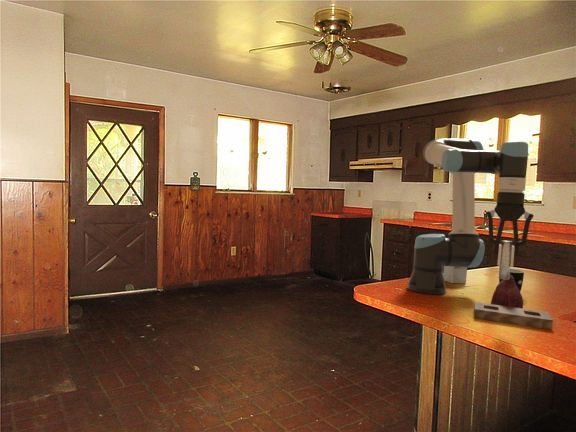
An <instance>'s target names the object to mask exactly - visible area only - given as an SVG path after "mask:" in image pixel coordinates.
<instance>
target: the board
mask: <svg viewBox="0 0 576 432" xmlns="http://www.w3.org/2000/svg"><path fill="white" fill-rule="evenodd" d="M473 307H474V308H473V313H474V314H473V315H474V317H473V318H474V319H477V318H478V320H479V319H480V320H484V319H486V320H485V321H491V320H492V321H491V322H498V323H505V324H512V325H517V326H518V325H519V326H525V327H532V328H538V329H545V330H549V331H550V330H551V331H553V323H554V319H553V318H552V316H551V315H550V314H549V312H548V311H543V310H537V309H529V308H524V307H523V308H515V307H508V306H501V305H493V304H491V303H486V302H479V301H478V302H477V301H474V306H473Z"/></svg>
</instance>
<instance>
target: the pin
mask: <svg viewBox="0 0 576 432" xmlns="http://www.w3.org/2000/svg"><path fill="white" fill-rule="evenodd" d="M500 242H501V244H500V245H502V249H501V262H500V266H498V267H499V269H498V270H499V271H498V280H499V279H503V280H509V276H510V269H511V267H510V262H511V250H512V246H513V241H512V240H501V241H500Z"/></svg>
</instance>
